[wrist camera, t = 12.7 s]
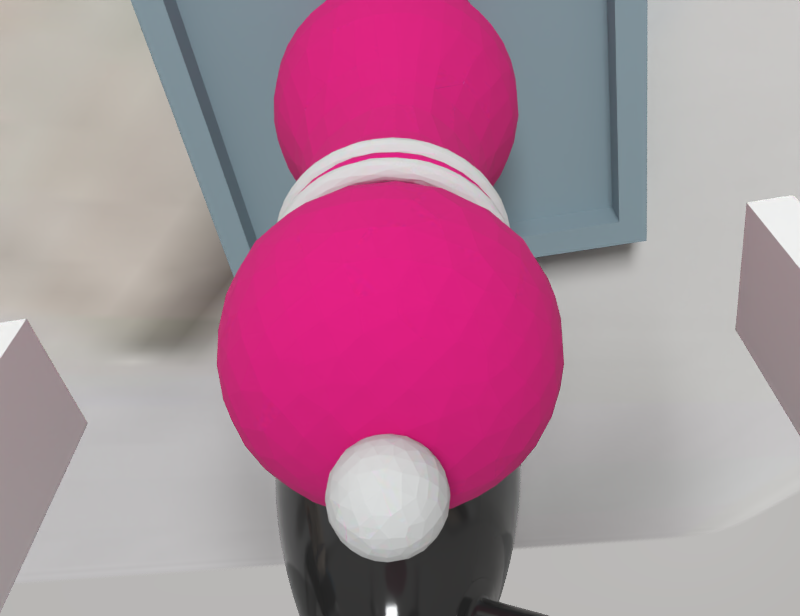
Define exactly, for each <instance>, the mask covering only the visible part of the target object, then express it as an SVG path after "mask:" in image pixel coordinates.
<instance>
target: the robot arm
mask: <svg viewBox="0 0 800 616" xmlns="http://www.w3.org/2000/svg"><path fill="white" fill-rule="evenodd" d="M736 331H737V333H738V334H739V336H740V338H741V339H742V341H743V343H744V344H745V346H746V348H747V349H748V351H749V353H750V354H751V356H752V358H753V359H754V361H755V363H756V364H757V366H758V368H759V369H760V371H761V372H762V374H763V376H764V377H765V379H766V381H767V382H768V384H769V386H770V387H771V389H772V391H773V392H774V394H775V396H776V397H777V399H778V401H779V402H780V404H781V406H782V407H783V409H784V411H785V412H786V414H787V416H788V417H789V419H790V421H791V422H792V424H793V425H794V427H795V429H796V430H797V432H798V434H799V435H800V202H799V201H798V200H797V198H796V197H795V196H794V195H790V196H784V197H778V198H772V199H766V200H759V201H753V202H747V206H746V217H745V228H744V240H743V251H742V262H741V273H740V284H739V296H738V307H737V318H736ZM87 424H88V423H87V421H86V420H85V418H84V416H83V414H82V413H81V411H80V409H79V408H78V406H77V404H76V402H75V401H74V399H73V397H72V396H71V394H70V392H69V391H68V389H67V387H66V385H65V384H64V382H63V380H62V379H61V377H60V375H59V373H58V372H57V370H56V368H55V367H54V365H53V363H52V361H51V360H50V358H49V356H48V355H47V353H46V351H45V349H44V348H43V346H42V344H41V343H40V341H39V339H38V337H37V336H36V334H35V332H34V331H33V329H32V327H31V325H30V324H29V322H28V320H27V319H21V320H15V321H9V322H2V323H0V612H1V610H2V608H3V605H4V603H5V601H6V599H7V597H8V595H9V592H10V590H11V588H12V586H13V584H14V582H15V579H16V577H17V575H18V573H19V571H20V569H21V566H22V564H23V562H24V560H25V558H26V556H27V554H28V551H29V549H30V547H31V545H32V543H33V541H34V538H35V536H36V534H37V532H38V530H39V528H40V525H41V523H42V521H43V519H44V517H45V515H46V513H47V510H48V508H49V506H50V504H51V502H52V500H53V497H54V495H55V493H56V491H57V489H58V487H59V484H60V482H61V480H62V478H63V476H64V474H65V471H66V469H67V467H68V465H69V463H70V461H71V459H72V456H73V454H74V452H75V450H76V448H77V446H78V443H79V441H80V439H81V437H82V435H83V433H84V430H85V428H86V426H87Z"/></svg>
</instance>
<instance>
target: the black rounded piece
mask: <svg viewBox="0 0 800 616" xmlns="http://www.w3.org/2000/svg"><path fill="white" fill-rule="evenodd" d="M520 470H521V464H520V466H519V467H518V468H517V469H515V470H514V471H513V472H512V473H511V474H509V475H508V476H507V477H506V478H504V479H503V480H502V481H501V482H500V483H498V484H497V485H496V486H495V487H493V488H491V489H490V490H488V491H486V492H485V493H483V494H481V495H480V496H478V497H476V498H474V499H472V500H469V501H467V502H465V503H463V504H461V505H458V506H456V507H454V508H452V509H449V512H448V517H447V519H446V521H445V524H444V526H443V528H442V530H441V531H440V533H439V535H438V536H437V538H436V539H435V540H434V541H433V542H432V543H431V544H430V545H429V546H428V547H427V548H426V549H425V550H424V551H422V552H420V553H418V554H417V555H415V556H413V557H411V558H409V559H404V560H399V561H393V562H379V561H373V560H370V559H367V558H364V557H362V556H360V555H358V554H357V553H355V552H353V551H352V550H350V549H349V548H348V547H347V546H346V545H345V544H343V543H342V542H341V541H340V539H339V537H338V536H337V534H336V532H335V531H334V529H333V527H332V526H331V524H330V522H329V519H328V514H327V508H326V506H323V505H320V504H317V503H315V502H312V501H311V500H309V499H307V498H306V497H304V496H302V495H301V494H299V493H297V492H295V491H294V490H292V489H291V488H289V487H288V486H287V485H285V484H284V483H282V482H281V481H280V480H278V479H277V478H276V505H277V517H278V526H279V533H280V540H281V546H282V551H283V556H284V561H285V566H286V570H287V574H288V578H289V582H290V586H291V589H292V593H293V596H294V599H295V603H296V606H297V609H298V612H299V615H300V616H548V615H544V614H541V613H537V612H533V611H530V610H526V609H522V608H518V607H515V606H511V605H507V604H504V603H501V602H499V599H500V596H501V593H502V590H503V586H504V583H505V579H506V575H507V572H508V567H509V563H510V559H511V554H512V550H513V545H514V539H515V533H516V527H517V519H518V511H519V498H520Z"/></svg>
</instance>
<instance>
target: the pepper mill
mask: <svg viewBox="0 0 800 616" xmlns="http://www.w3.org/2000/svg"><path fill="white" fill-rule="evenodd" d="M518 116H519V114H518V101H517V89H516V78H515V74H514V70H513V66H512V62H511V59H510V57H509V54H508V52H507V50H506V48H505V45H504V43H503V41H502V40H501V38H500V37H499V35H498V34H497V32H496V31H495V29H494V28H493V26H492V25H491V24H490V23H489V21H488V20H487V19H486V18H485V17H484V16H483V15H482V14H481V13H480V12H479V11H478V10H477V9H476V8H475V7H473V6H472V5H471V4H470V3H469V1H468V0H326V1H325V2H324V3H323V4H321V5H320V6H319V7H318V8H316V9H315V10H314V11H313V12H312V13H311V14H310V15H309V16H308V17H307V18H306V19H305V20H304V22H303V23H302V24H301V25H300V26H299V27H298V29H297V30H296V32H295V34H294V35H293V37H292V39H291V40H290V42H289V44H288V45H287V48H286V50H285V53H284V55H283V58H282V60H281V63H280V68H279V72H278V77H277V82H276V88H275V94H274V123H275V128H276V133H277V138H278V142H279V145H280V148H281V151H282V154H283V156H284V159H285V161H286V164H287V166H288V168H289V170H290V172H291V174H292V175H293V177H294V179H295V180H296V183H295V184H294V185H293V186H292V188H291V190H290V191H289V193H288V195H287V196H286V198H285V200H284V202H283V205H282V207H281V210H280V212H279V217H278V221H277V223H276V224H275V225H274V226H272V227H271V228H270V229H269V230H268V231H267V232H266V233H264V234H263V235H262V236H261V237H260V238H259V239H258V240H256V241H255V243H254V245H253V246H252V248H251V250H250V251H249V253H248V254H247V256H246V258H245V259H244V261H243V263H242V264H241V266H240V267H239V269H238V271H237V273H236V275H235V277H234V279H233V281H232V283H231V285H230V288H229V290H228V292H227V294H226V297H225V302H224V307H223V311H222V316H221V320H220V325H219V329H218V352H217V368H218V373H219V378H220V384H221V389H222V394H223V400H224V402H225V405H226V407H227V410H228V412H229V415H230V417H231V420H232V422H233V424H234V425H235V427H236V429H237V431H238V433H239V435H240V437H241V439H242V441H243V443H244V445H245V446H246V447H247V449H248V450H249V451H250V452H251V453H252V454H253V456H254V457H255V458H256V459H257V460H258V461H259V463H260V464H261V465H262V466H263V467H264V468H265V469H266V470H267V471H268V472H270V473H271V474H272V475H273V476H275V477H276V478H277V479H278V480H280V481H281V482H282V483H284V484H285V485H287V486H288V487H289V488H291V489H292V490H294V491H295V492H297V493H299V494H301V495H302V496H304V497H306V498H307V499H309V500H311V501H312V502H315V503H317V504H320V505H323V506H326V508H327V514H328V519H329V522H330V524H331V526H332V527H333V529H334V531H335V532H336V534H337V536H338V537H339V539H340V541H341V542H342V543H343V544H345V545H346V546H347V547H348V548H349V549H350V550H352V551H353V552H355V553H357V554H358V555H360V556H362V557H364V558H367V559H370V560H373V561H379V562H393V561H399V560H404V559H409V558H411V557H413V556H415V555H417V554H418V553H420V552H422V551H424V550H425V549H426V548H427V547H428V546H429V545H430V544H431V543H432V542H433V541H434V540H435V539H436V538H437V536H438V535H439V533H440V531H441V530H442V528H443V526H444V524H445V521H446V519H447V517H448V512H449V509H452V508H454V507H456V506H458V505H461V504H463V503H465V502H467V501H469V500H472V499H474V498H476V497H478V496H480V495H481V494H483V493H485V492H486V491H488V490H490V489H491V488H493V487H495V486H496V485H497V484H498V483H500V482H501V481H502V480H503V479H504V478H506V477H507V476H508V475H509V474H511V473H512V472H513V471H514V470H515V469H517V468H518V467H519V466H520V464H521V463H522V462H523V461H524V460H525V458H526V457H527V456H528V455H529V453H530V452H531V451H532V450H533V449H534V447H535V446H536V444H537V443H538V441H539V439H540V437H541V435H542V433H543V432H544V430H545V428H546V426H547V424H548V422H549V420H550V419H551V417H552V414H553V410H554V407H555V404H556V400H557V397H558V394H559V390H560V386H561V379H562V373H563V366H564V359H563V344H562V329H561V318H560V314H559V310H558V306H557V302H556V298H555V295H554V292H553V290H552V288H551V285H550V283H549V280H548V278H547V276H546V275H545V273H544V272H543V270H542V268H541V267H540V265H539V264H538V262H537V260H536V259H535V257H534V256H533V254H532V252H531V251H530V249H529V248H528V246H527V244H526V243H525V241H524V240H523V239H522V238H521V237H520V236H519V235H518V234H516V233H515V232H514V231H513V230H512V229H511V228H510V225H509V221H508V216H507V213H506V211H505V208H504V206H503V203H502V200H501V198H500V197H499V195H498V193H497V192H496V190H495V189H494V188H493V186H494V184H495V183H496V181H497V180H498V178H499V177H500V175H501V173H502V171H503V169H504V166H505V164H506V162H507V160H508V157H509V155H510V152H511V149H512V146H513V144H514V139H515V133H516V128H517V122H518Z"/></svg>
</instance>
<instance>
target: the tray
mask: <svg viewBox="0 0 800 616" xmlns="http://www.w3.org/2000/svg"><path fill="white" fill-rule="evenodd" d="M325 1H326V0H131V2H132V5H133V7H134V10H135V13H136V15H137V18H138V21H139V24H140V26H141V29H142V32H143V34H144V37H145V40H146V42H147V45H148V48H149V50H150V53H151V56H152V58H153V61H154V64H155V67H156V69H157V72H158V75H159V77H160V80H161V83H162V85H163V88H164V91H165V93H166V96H167V99H168V101H169V104H170V107H171V109H172V112H173V115H174V118H175V120H176V123H177V126H178V128H179V131H180V134H181V136H182V139H183V142H184V144H185V147H186V150H187V152H188V155H189V158H190V161H191V163H192V166H193V169H194V171H195V174H196V177H197V179H198V182H199V185H200V187H201V190H202V193H203V195H204V198H205V201H206V203H207V206H208V209H209V212H210V214H211V217H212V220H213V222H214V225H215V228H216V230H217V233H218V236H219V238H220V241H221V244H222V246H223V249H224V252H225V255H226V257H227V260H228V263H229V265H230V268H231V271H232V273H233V276H234V277H235V275H236V273H237V271H238V269H239V267H240V266H241V264H242V263H243V261H244V259H245V258H246V256H247V254H248V253H249V251H250V250H251V248H252V246H253V245H254V243H255V241H256V240H258V239H259V238H260V237H261V236H262V235H263V234H264V233H266V232H267V231H268V230H269V229H270V228H271V227H272V226H274V225H275V224H276V223H277V221H278V217H279V212H280V210H281V207H282V205H283V202H284V200H285V198H286V196H287V195H288V193H289V191H290V190H291V188H292V186H293V185H294V184H295V183H296V180H295V179H294V177H293V175H292V174H291V172H290V170H289V168H288V166H287V164H286V161H285V159H284V156H283V154H282V151H281V148H280V145H279V142H278V138H277V133H276V128H275V123H274V94H275V88H276V82H277V77H278V72H279V68H280V63H281V60H282V58H283V55H284V53H285V50H286V48H287V45H288V44H289V42H290V40H291V39H292V37H293V35H294V34H295V32H296V30H297V29H298V27H299V26H300V25H301V24H302V23H303V22H304V20H305V19H306V18H307V17H308V16H309V15H310V14H311V13H312V12H313V11H314V10H315V9H316V8H318V7H319V6H320V5H321V4H323V3H324V2H325ZM468 1H469V3H470V4H471V5H472V6H473V7H475V8H476V9H477V10H478V11H479V12H480V13H481V14H482V15H483V16H484V17H485V18H486V19H487V20H488V21H489V23H490V24H491V25H492V26H493V28H494V29H495V31H496V32H497V34H498V35H499V37H500V38H501V40H502V41H503V43H504V45H505V48H506V50H507V52H508V54H509V57H510V59H511V62H512V66H513V70H514V74H515V78H516V89H517V101H518V114H519V116H518V122H517V128H516V133H515V139H514V144H513V146H512V149H511V152H510V155H509V157H508V160H507V162H506V164H505V166H504V169H503V171H502V173H501V175H500V177H499V178H498V180H497V181H496V183H495V184H494V186H493V188H494V189H495V190H496V192H497V193H498V195H499V197H500V198H501V200H502V203H503V206H504V208H505V211H506V213H507V216H508V221H509V225H510V228H511V229H512V230H513V231H514V232H515V233H516V234H518V235H519V236H520V237H521V238H522V239H523V240H524V241H525V243H526V244H527V246H528V248H529V249H530V251H531V252H532V254H533V256H534V257H542V256H548V255H555V254H562V253H568V252H575V251H581V250H588V249H595V248H601V247H608V246H615V245H621V244H628V243H634V242H641V241H646V238H647V0H468Z"/></svg>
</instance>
